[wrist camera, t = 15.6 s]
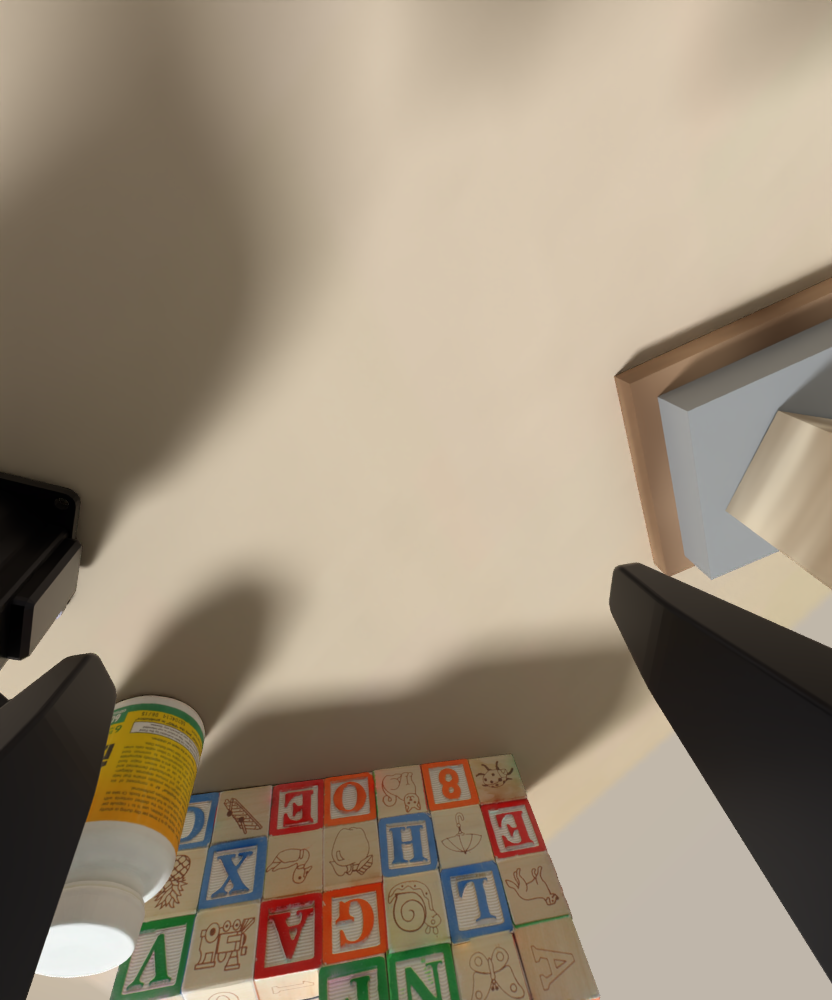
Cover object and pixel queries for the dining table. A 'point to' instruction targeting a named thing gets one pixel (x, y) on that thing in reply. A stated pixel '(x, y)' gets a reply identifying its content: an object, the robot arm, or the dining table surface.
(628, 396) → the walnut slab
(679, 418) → the slate slab
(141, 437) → the dining table surface
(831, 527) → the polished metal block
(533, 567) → the dining table surface
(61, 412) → the dining table surface
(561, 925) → the stack of blocks
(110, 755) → the supplement bottle
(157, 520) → the dining table surface
